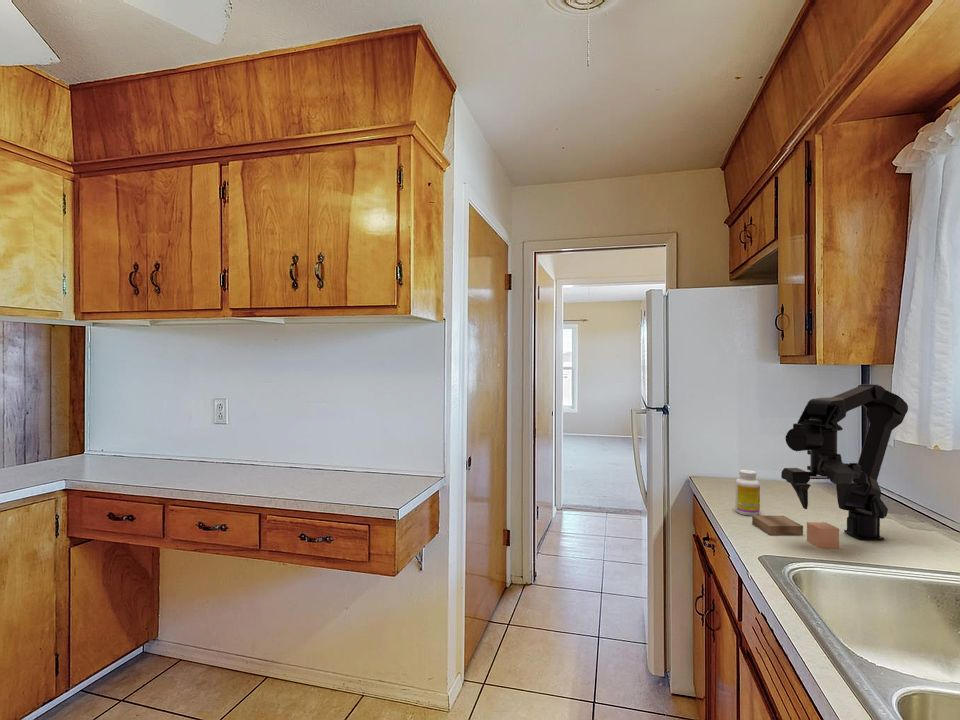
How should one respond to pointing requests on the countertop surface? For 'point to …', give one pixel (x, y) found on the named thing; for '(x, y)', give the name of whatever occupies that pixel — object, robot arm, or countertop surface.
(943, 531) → the countertop surface
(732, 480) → the countertop surface
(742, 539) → the countertop surface
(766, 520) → the brown block
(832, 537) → the cube
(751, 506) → the supplement bottle
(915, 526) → the countertop surface
